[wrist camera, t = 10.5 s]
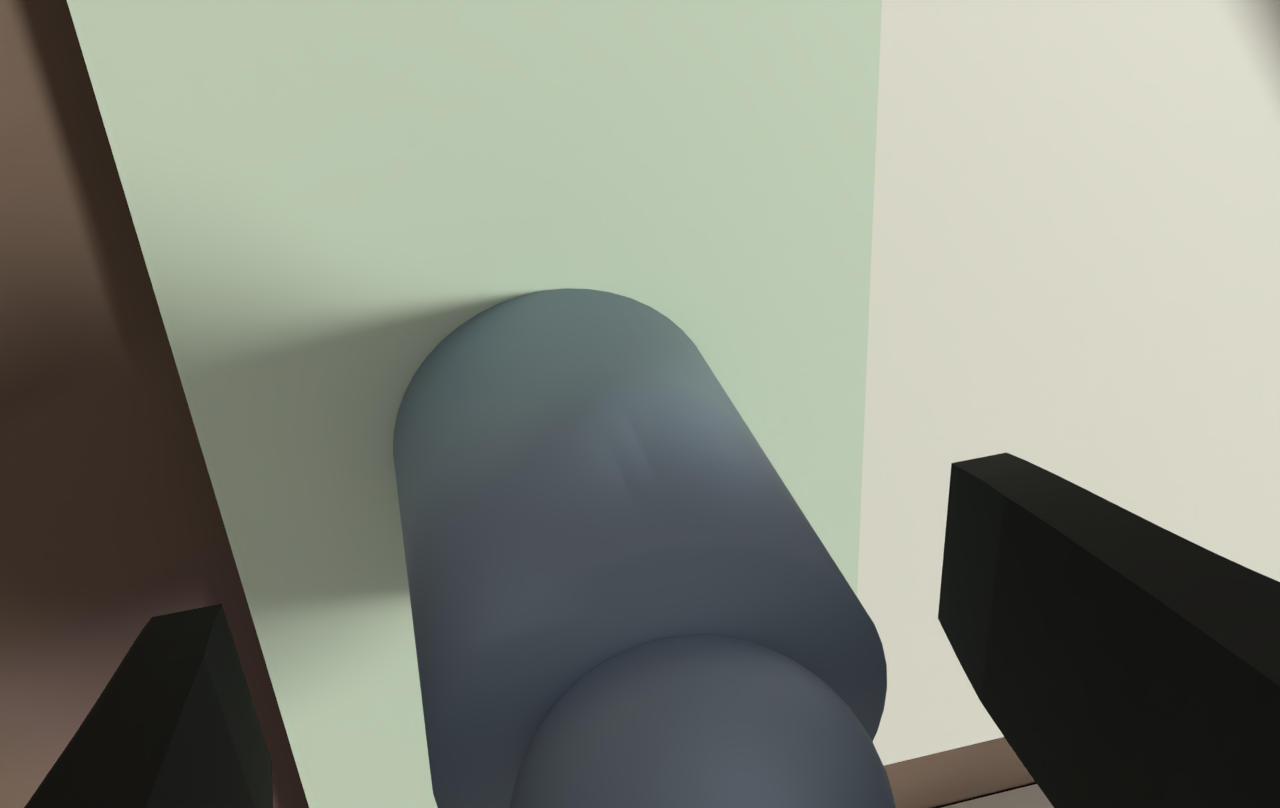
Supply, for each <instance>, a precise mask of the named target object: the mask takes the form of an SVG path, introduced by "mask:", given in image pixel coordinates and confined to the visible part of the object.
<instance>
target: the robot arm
mask: <svg viewBox="0 0 1280 808" xmlns="http://www.w3.org/2000/svg"><path fill="white" fill-rule="evenodd" d="M938 620H939V622H940V624H941V626H942V628H943V630H944V632H945V634H946V636H947V638H948V640H949V642H950V644H951V646H952V648H953V650H954V652H955V654H956V656H957V658H958V660H959V662H960V664H961V666H962V668H963V670H964V672H965V674H966V675H967V677H968V679H969V681H970V683H971V685H972V687H973V689H974V690H975V692H976V694H977V696H978V698H979V700H980V702H981V703H982V705H983V706H984V708H985V709H986V711H987V712H988V714H989V715H990V717H991V718H992V720H993V721H994V723H995V724H996V725H997V727H998V728H999V730H1000V731H1001V733H1002V734H1003V736H1004V737H1005V738H1006V740H1007V741H1008V743H1009V744H1010V746H1011V747H1012V749H1013V750H1014V752H1015V753H1016V754H1017V756H1018V757H1019V759H1020V760H1021V762H1022V763H1023V765H1024V766H1025V767H1026V769H1027V770H1028V772H1029V773H1030V775H1031V776H1032V777H1033V779H1034V780H1035V782H1036V783H1037V784H1038V786H1039V787H1040V789H1041V790H1042V792H1043V793H1044V794H1045V796H1046V797H1047V799H1048V800H1049V802H1050V803H1051V804H1052V806H1053V807H1054V808H1280V582H1279V581H1276V580H1274V579H1272V578H1269V577H1267V576H1265V575H1262V574H1260V573H1258V572H1255V571H1253V570H1251V569H1249V568H1246V567H1244V566H1242V565H1240V564H1238V563H1236V562H1233V561H1231V560H1229V559H1227V558H1225V557H1223V556H1220V555H1218V554H1216V553H1214V552H1212V551H1210V550H1208V549H1205V548H1203V547H1201V546H1199V545H1197V544H1195V543H1193V542H1191V541H1189V540H1187V539H1185V538H1182V537H1180V536H1178V535H1176V534H1174V533H1172V532H1170V531H1168V530H1166V529H1164V528H1162V527H1160V526H1158V525H1156V524H1154V523H1152V522H1150V521H1148V520H1146V519H1144V518H1142V517H1140V516H1138V515H1136V514H1134V513H1132V512H1130V511H1128V510H1126V509H1124V508H1122V507H1120V506H1118V505H1116V504H1114V503H1112V502H1110V501H1108V500H1106V499H1104V498H1102V497H1100V496H1098V495H1096V494H1094V493H1092V492H1090V491H1088V490H1086V489H1084V488H1082V487H1080V486H1078V485H1076V484H1074V483H1072V482H1070V481H1068V480H1066V479H1064V478H1062V477H1060V476H1058V475H1056V474H1054V473H1052V472H1049V471H1047V470H1045V469H1043V468H1041V467H1039V466H1037V465H1035V464H1032V463H1030V462H1028V461H1026V460H1023V459H1021V458H1019V457H1016V456H1014V455H1012V454H1009V453H1007V452H1006V453H1001V454H996V455H991V456H986V457H981V458H975V459H970V460H965V461H960V462H955V463H951V475H950V486H949V497H948V509H947V520H946V531H945V543H944V554H943V565H942V577H941V588H940V599H939V611H938ZM24 808H273V792H272V763H271V760H270V757H269V753H268V750H267V747H266V744H265V741H264V738H263V734H262V731H261V728H260V725H259V722H258V719H257V715H256V712H255V709H254V706H253V703H252V699H251V696H250V693H249V690H248V687H247V684H246V680H245V677H244V674H243V671H242V668H241V665H240V661H239V658H238V655H237V652H236V649H235V646H234V642H233V639H232V636H231V633H230V630H229V627H228V623H227V620H226V617H225V614H224V611H223V607H222V604H219V605H213V606H208V607H203V608H198V609H193V610H187V611H182V612H177V613H172V614H167V615H161V616H156V617H152V618H151V619H150V621H149V622H148V623H147V625H146V626H145V627H144V628H143V630H142V631H141V633H140V634H139V636H138V637H137V639H136V640H135V642H134V644H133V645H132V647H131V648H130V650H129V651H128V653H127V655H126V656H125V658H124V659H123V661H122V662H121V664H120V666H119V667H118V669H117V670H116V672H115V673H114V675H113V677H112V678H111V680H110V681H109V683H108V684H107V686H106V688H105V689H104V691H103V692H102V694H101V695H100V697H99V698H98V700H97V702H96V703H95V705H94V706H93V708H92V709H91V711H90V712H89V714H88V715H87V717H86V718H85V720H84V721H83V723H82V724H81V726H80V728H79V729H78V731H77V732H76V734H75V735H74V737H73V738H72V740H71V741H70V742H69V744H68V745H67V747H66V748H65V750H64V751H63V753H62V754H61V756H60V757H59V758H58V760H57V761H56V763H55V764H54V766H53V767H52V769H51V770H50V771H49V773H48V774H47V776H46V777H45V779H44V780H43V782H42V783H41V785H40V786H39V787H38V789H37V790H36V792H35V793H34V795H33V796H32V798H31V799H30V800H29V802H28V803H27V805H26V806H25V807H24Z"/></svg>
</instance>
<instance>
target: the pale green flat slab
mask: <svg viewBox="0 0 1280 808" xmlns="http://www.w3.org/2000/svg"><path fill="white" fill-rule="evenodd" d="M67 3H68V7H69V10H70V13H71V17H72V20H73V23H74V27H75V30H76V33H77V37H78V40H79V43H80V47H81V50H82V53H83V57H84V60H85V63H86V66H87V70H88V73H89V76H90V80H91V83H92V86H93V90H94V93H95V96H96V100H97V103H98V106H99V110H100V113H101V116H102V120H103V123H104V126H105V130H106V133H107V136H108V140H109V143H110V146H111V150H112V153H113V156H114V160H115V163H116V166H117V170H118V173H119V176H120V180H121V183H122V186H123V190H124V193H125V196H126V200H127V203H128V206H129V210H130V213H131V216H132V220H133V223H134V226H135V230H136V233H137V236H138V240H139V243H140V246H141V250H142V253H143V256H144V260H145V263H146V266H147V270H148V273H149V276H150V280H151V283H152V286H153V290H154V293H155V296H156V300H157V303H158V306H159V310H160V313H161V316H162V320H163V323H164V326H165V329H166V333H167V336H168V339H169V343H170V346H171V349H172V353H173V356H174V359H175V363H176V366H177V369H178V373H179V376H180V379H181V383H182V386H183V389H184V393H185V396H186V399H187V403H188V406H189V409H190V413H191V416H192V419H193V423H194V426H195V429H196V433H197V436H198V439H199V443H200V446H201V449H202V453H203V456H204V459H205V463H206V466H207V469H208V473H209V476H210V479H211V483H212V486H213V489H214V493H215V496H216V499H217V503H218V506H219V509H220V513H221V516H222V519H223V523H224V526H225V529H226V533H227V536H228V539H229V543H230V546H231V549H232V553H233V556H234V559H235V563H236V566H237V569H238V573H239V576H240V579H241V583H242V586H243V589H244V592H245V596H246V599H247V602H248V606H249V609H250V612H251V616H252V619H253V622H254V626H255V629H256V632H257V636H258V639H259V642H260V646H261V649H262V652H263V656H264V659H265V662H266V666H267V669H268V672H269V676H270V679H271V682H272V686H273V689H274V692H275V696H276V699H277V702H278V706H279V709H280V712H281V716H282V719H283V722H284V726H285V729H286V732H287V736H288V739H289V742H290V746H291V749H292V752H293V756H294V759H295V762H296V766H297V769H298V772H299V776H300V779H301V782H302V786H303V789H304V792H305V796H306V799H307V802H308V806H309V808H438V807H437V804H436V801H435V798H434V795H433V790H432V782H431V774H430V765H429V757H428V748H427V739H426V731H425V722H424V714H423V705H422V696H421V688H420V679H419V671H418V662H417V654H416V645H415V636H414V628H413V619H412V611H411V602H410V593H409V585H408V576H407V568H406V559H405V551H404V542H403V533H402V525H401V516H400V508H399V499H398V490H397V482H396V473H395V465H394V456H393V439H394V429H395V423H396V418H397V413H398V410H399V407H400V404H401V402H402V399H403V396H404V393H405V391H406V389H407V387H408V386H409V384H410V382H411V380H412V378H413V376H414V374H415V373H416V371H417V370H418V369H419V367H420V366H421V364H422V363H423V361H424V360H425V359H426V357H427V356H428V355H429V354H430V353H431V352H432V351H433V350H434V349H435V348H436V346H437V345H438V344H439V343H440V342H441V341H442V340H443V339H445V338H446V337H447V336H448V335H449V334H450V333H452V332H453V331H454V330H455V329H456V328H458V327H459V326H460V325H462V324H463V323H465V322H466V321H468V320H470V319H471V318H473V317H474V316H476V315H477V314H479V313H481V312H483V311H485V310H487V309H489V308H491V307H493V306H495V305H497V304H499V303H502V302H505V301H508V300H511V299H514V298H516V297H519V296H523V295H527V294H532V293H536V292H541V291H548V290H558V289H591V290H598V291H605V292H611V293H614V294H618V295H621V296H625V297H628V298H632V299H634V300H636V301H638V302H641V303H643V304H645V305H648V306H650V307H652V308H653V309H655V310H656V311H658V312H660V313H661V314H663V315H664V316H666V317H668V318H669V319H670V320H671V321H672V322H674V323H675V324H676V325H677V326H678V327H679V328H681V329H682V330H683V331H684V332H685V334H686V335H687V336H688V337H689V338H690V339H691V340H692V342H693V343H694V344H695V345H696V347H697V348H698V350H699V352H700V353H701V355H702V356H703V358H704V359H705V361H706V362H707V364H708V366H709V367H710V369H711V370H712V372H713V373H714V375H715V376H716V378H717V380H718V381H719V383H720V384H721V386H722V387H723V389H724V390H725V392H726V394H727V395H728V397H729V398H730V400H731V401H732V403H733V404H734V406H735V408H736V409H737V411H738V412H739V414H740V415H741V417H742V419H743V420H744V422H745V423H746V425H747V426H748V428H749V429H750V431H751V433H752V434H753V436H754V437H755V439H756V440H757V442H758V443H759V445H760V447H761V448H762V450H763V451H764V453H765V454H766V456H767V457H768V459H769V461H770V462H771V464H772V465H773V467H774V468H775V470H776V471H777V473H778V475H779V476H780V478H781V479H782V481H783V482H784V484H785V486H786V487H787V489H788V490H789V492H790V493H791V495H792V496H793V498H794V500H795V501H796V503H797V504H798V506H799V507H800V509H801V510H802V512H803V514H804V515H805V517H806V518H807V520H808V521H809V523H810V524H811V526H812V528H813V529H814V531H815V532H816V534H817V535H818V537H819V538H820V540H821V542H822V543H823V545H824V546H825V548H826V549H827V551H828V553H829V554H830V556H831V557H832V559H833V560H834V562H835V563H836V565H837V567H838V568H839V570H840V571H841V573H842V574H843V576H844V577H845V579H846V581H847V582H848V584H849V585H850V587H851V588H852V590H853V591H854V593H855V595H856V596H857V598H858V599H859V601H860V602H861V604H862V605H863V607H864V609H865V610H866V612H867V613H868V615H869V616H870V618H871V620H872V621H873V623H874V624H875V627H876V629H877V632H878V634H879V637H880V639H881V642H882V645H883V650H884V655H885V660H886V665H887V691H886V699H885V706H884V711H883V714H882V717H881V721H880V724H879V728H878V731H877V733H876V735H875V738H874V740H873V744H874V746H875V748H876V751H877V753H878V755H879V757H880V759H881V761H882V764H883V766H884V765H888V764H892V763H896V762H901V761H905V760H909V759H913V758H917V757H921V756H926V755H930V754H934V753H938V752H942V751H947V750H951V749H955V748H959V747H963V746H968V745H972V744H976V743H980V742H984V741H989V740H993V739H997V738H1001V737H1004V736H1003V734H1002V733H1001V731H1000V730H999V728H998V727H997V725H996V724H995V723H994V721H993V720H992V718H991V717H990V715H989V714H988V712H987V711H986V709H985V708H984V706H983V705H982V703H981V702H980V700H979V698H978V696H977V694H976V692H975V690H974V689H973V687H972V685H971V683H970V681H969V679H968V677H967V675H966V674H965V672H964V670H963V668H962V666H961V664H960V662H959V660H958V658H957V656H956V654H955V652H954V650H953V648H952V646H951V644H950V642H949V640H948V638H947V636H946V634H945V632H944V630H943V628H942V626H941V624H940V622H939V620H938V611H939V599H940V588H941V577H942V565H943V554H944V543H945V531H946V520H947V509H948V497H949V486H950V475H951V463H955V462H960V461H965V460H970V459H975V458H981V457H986V456H991V455H996V454H1001V453H1006V452H1007V453H1009V454H1012V455H1014V456H1016V457H1019V458H1021V459H1023V460H1026V461H1028V462H1030V463H1032V464H1035V465H1037V466H1039V467H1041V468H1043V469H1045V470H1047V471H1049V472H1052V473H1054V474H1056V475H1058V476H1060V477H1062V478H1064V479H1066V480H1068V481H1070V482H1072V483H1074V484H1076V485H1078V486H1080V487H1082V488H1084V489H1086V490H1088V491H1090V492H1092V493H1094V494H1096V495H1098V496H1100V497H1102V498H1104V499H1106V500H1108V501H1110V502H1112V503H1114V504H1116V505H1118V506H1120V507H1122V508H1124V509H1126V510H1128V511H1130V512H1132V513H1134V514H1136V515H1138V516H1140V517H1142V518H1144V519H1146V520H1148V521H1150V522H1152V523H1154V524H1156V525H1158V526H1160V527H1162V528H1164V529H1166V530H1168V531H1170V532H1172V533H1174V534H1176V535H1178V536H1180V537H1182V538H1185V539H1187V540H1189V541H1191V542H1193V543H1195V544H1197V545H1199V546H1201V547H1203V548H1205V549H1208V550H1210V551H1212V552H1214V553H1216V554H1218V555H1220V556H1223V557H1225V558H1227V559H1229V560H1231V561H1233V562H1236V563H1238V564H1240V565H1242V566H1244V567H1246V568H1249V569H1251V570H1253V571H1255V572H1258V573H1260V574H1262V575H1265V576H1267V577H1269V578H1272V579H1274V580H1276V581H1279V582H1280V0H67Z"/></svg>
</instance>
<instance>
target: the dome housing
mask: <svg viewBox="0 0 1280 808" xmlns="http://www.w3.org/2000/svg"><path fill="white" fill-rule="evenodd" d="M941 808H1054V807H1053V806H1052V804H1051V803H1050V802H1049V800H1048V799H1047V797H1046V796H1045V794H1044V793H1043V792H1042V790H1041V789H1040V787H1039V786H1038V784H1034V785H1030V786H1026V787H1022V788H1018V789H1014V790H1010V791H1006V792H1002V793H998V794H994V795H990V796H986V797H982V798H978V799H974V800H970V801H966V802H962V803H958V804H953V805H949V806H945V807H941Z"/></svg>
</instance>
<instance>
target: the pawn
mask: <svg viewBox="0 0 1280 808" xmlns="http://www.w3.org/2000/svg"><path fill="white" fill-rule="evenodd" d="M393 456H394V465H395V473H396V482H397V490H398V499H399V508H400V516H401V525H402V533H403V542H404V551H405V559H406V568H407V576H408V585H409V593H410V602H411V611H412V619H413V628H414V636H415V645H416V654H417V662H418V671H419V679H420V688H421V696H422V705H423V714H424V722H425V731H426V739H427V748H428V757H429V765H430V774H431V782H432V790H433V795H434V798H435V801H436V804H437V807H438V808H895V803H894V799H893V794H892V790H891V787H890V783H889V780H888V776H887V773H886V771H885V768H884V766H883V764H882V761H881V759H880V757H879V755H878V753H877V751H876V748H875V746H874V744H873V740H874V738H875V735H876V733H877V731H878V728H879V724H880V721H881V717H882V714H883V711H884V706H885V699H886V691H887V665H886V660H885V655H884V650H883V645H882V642H881V639H880V637H879V634H878V632H877V629H876V627H875V624H874V623H873V621H872V620H871V618H870V616H869V615H868V613H867V612H866V610H865V609H864V607H863V605H862V604H861V602H860V601H859V599H858V598H857V596H856V595H855V593H854V591H853V590H852V588H851V587H850V585H849V584H848V582H847V581H846V579H845V577H844V576H843V574H842V573H841V571H840V570H839V568H838V567H837V565H836V563H835V562H834V560H833V559H832V557H831V556H830V554H829V553H828V551H827V549H826V548H825V546H824V545H823V543H822V542H821V540H820V538H819V537H818V535H817V534H816V532H815V531H814V529H813V528H812V526H811V524H810V523H809V521H808V520H807V518H806V517H805V515H804V514H803V512H802V510H801V509H800V507H799V506H798V504H797V503H796V501H795V500H794V498H793V496H792V495H791V493H790V492H789V490H788V489H787V487H786V486H785V484H784V482H783V481H782V479H781V478H780V476H779V475H778V473H777V471H776V470H775V468H774V467H773V465H772V464H771V462H770V461H769V459H768V457H767V456H766V454H765V453H764V451H763V450H762V448H761V447H760V445H759V443H758V442H757V440H756V439H755V437H754V436H753V434H752V433H751V431H750V429H749V428H748V426H747V425H746V423H745V422H744V420H743V419H742V417H741V415H740V414H739V412H738V411H737V409H736V408H735V406H734V404H733V403H732V401H731V400H730V398H729V397H728V395H727V394H726V392H725V390H724V389H723V387H722V386H721V384H720V383H719V381H718V380H717V378H716V376H715V375H714V373H713V372H712V370H711V369H710V367H709V366H708V364H707V362H706V361H705V359H704V358H703V356H702V355H701V353H700V352H699V350H698V348H697V347H696V345H695V344H694V343H693V342H692V340H691V339H690V338H689V337H688V336H687V335H686V334H685V332H684V331H683V330H682V329H681V328H679V327H678V326H677V325H676V324H675V323H674V322H672V321H671V320H670V319H669V318H668V317H666V316H664V315H663V314H661V313H660V312H658V311H656V310H655V309H653V308H652V307H650V306H648V305H645V304H643V303H641V302H638V301H636V300H634V299H632V298H628V297H625V296H621V295H618V294H614V293H611V292H605V291H598V290H591V289H558V290H548V291H541V292H536V293H532V294H527V295H523V296H519V297H516V298H514V299H511V300H508V301H505V302H502V303H499V304H497V305H495V306H493V307H491V308H489V309H487V310H485V311H483V312H481V313H479V314H477V315H476V316H474V317H473V318H471V319H470V320H468V321H466V322H465V323H463V324H462V325H460V326H459V327H458V328H456V329H455V330H454V331H453V332H452V333H450V334H449V335H448V336H447V337H446V338H445V339H443V340H442V341H441V342H440V343H439V344H438V345H437V346H436V348H435V349H434V350H433V351H432V352H431V353H430V354H429V355H428V356H427V357H426V359H425V360H424V361H423V363H422V364H421V366H420V367H419V369H418V370H417V371H416V373H415V374H414V376H413V378H412V380H411V382H410V384H409V386H408V387H407V389H406V391H405V393H404V396H403V399H402V402H401V404H400V407H399V410H398V413H397V418H396V423H395V429H394V439H393Z"/></svg>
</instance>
